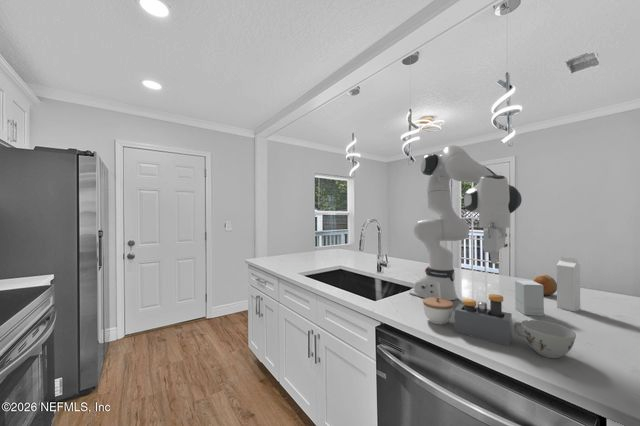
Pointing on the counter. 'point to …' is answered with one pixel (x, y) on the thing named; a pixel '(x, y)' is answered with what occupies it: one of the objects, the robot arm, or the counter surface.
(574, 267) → the milk
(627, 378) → the counter surface
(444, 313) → the lidded jar
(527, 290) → the supplement box
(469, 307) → the knob left
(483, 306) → the shiny silver ball
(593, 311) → the counter surface
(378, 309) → the counter surface
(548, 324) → the teacup
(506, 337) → the mount
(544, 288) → the onion
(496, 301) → the knob right
